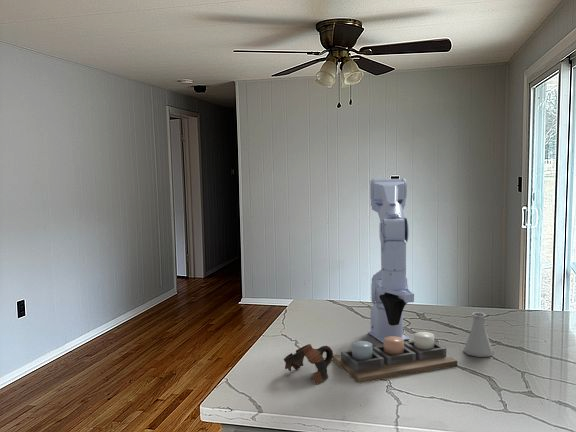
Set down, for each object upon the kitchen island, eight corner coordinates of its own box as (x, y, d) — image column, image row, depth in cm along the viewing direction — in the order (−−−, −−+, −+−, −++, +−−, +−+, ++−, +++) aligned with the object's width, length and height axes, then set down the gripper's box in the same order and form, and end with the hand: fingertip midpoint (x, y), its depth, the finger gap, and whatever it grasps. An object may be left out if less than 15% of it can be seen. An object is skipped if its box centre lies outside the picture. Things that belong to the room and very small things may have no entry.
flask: (496, 358, 127) (497, 319, 126) (464, 357, 129) (465, 317, 128) (490, 348, 134) (491, 310, 133) (461, 346, 136) (461, 309, 135)
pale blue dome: (348, 355, 124) (348, 342, 124) (366, 352, 126) (366, 339, 126) (357, 362, 120) (357, 349, 120) (376, 359, 122) (375, 346, 121)
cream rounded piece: (410, 345, 130) (410, 333, 130) (426, 343, 131) (427, 330, 131) (421, 352, 125) (421, 339, 125) (438, 349, 127) (438, 336, 127)
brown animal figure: (308, 392, 113) (290, 357, 114) (290, 395, 121) (273, 362, 122) (348, 365, 119) (330, 332, 120) (328, 369, 127) (312, 339, 128)
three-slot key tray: (332, 360, 128) (332, 347, 128) (423, 345, 137) (423, 334, 136) (358, 383, 115) (358, 369, 115) (457, 365, 124) (457, 352, 123)
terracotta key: (380, 350, 127) (380, 337, 127) (397, 347, 129) (397, 335, 128) (390, 357, 123) (390, 344, 122) (407, 354, 124) (407, 341, 124)
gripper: (364, 264, 129) (364, 317, 130) (394, 276, 115) (394, 336, 117) (389, 262, 131) (389, 314, 133) (422, 273, 118) (421, 332, 119)
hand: (393, 324), depth 125 cm, fingers closed
